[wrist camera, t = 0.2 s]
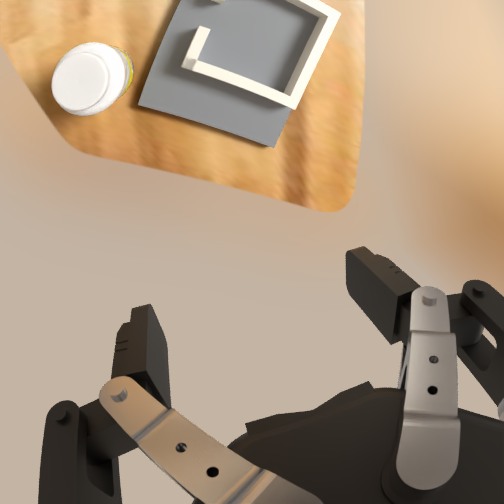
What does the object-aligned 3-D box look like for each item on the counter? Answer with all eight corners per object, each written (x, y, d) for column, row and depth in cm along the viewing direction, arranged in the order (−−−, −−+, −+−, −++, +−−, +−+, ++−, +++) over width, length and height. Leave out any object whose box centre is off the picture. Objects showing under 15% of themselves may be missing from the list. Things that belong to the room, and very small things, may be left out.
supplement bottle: (69, 93, 24) (29, 110, 16) (92, 39, 22) (59, 31, 14) (120, 110, 26) (100, 133, 18) (145, 56, 24) (134, 54, 16)
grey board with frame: (204, -43, 20) (208, -53, 17) (332, 14, 25) (347, 12, 23) (138, 103, 27) (135, 108, 24) (270, 145, 32) (280, 153, 30)
